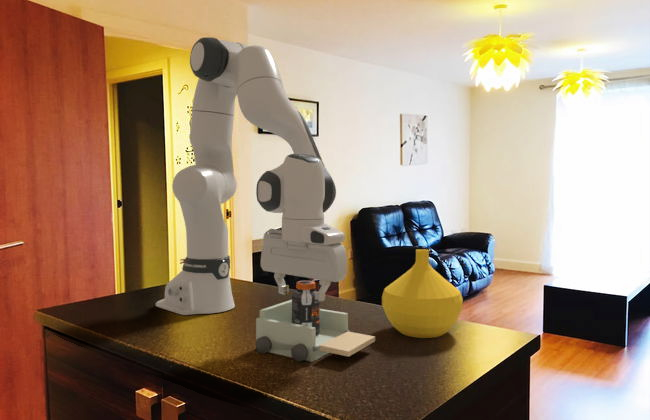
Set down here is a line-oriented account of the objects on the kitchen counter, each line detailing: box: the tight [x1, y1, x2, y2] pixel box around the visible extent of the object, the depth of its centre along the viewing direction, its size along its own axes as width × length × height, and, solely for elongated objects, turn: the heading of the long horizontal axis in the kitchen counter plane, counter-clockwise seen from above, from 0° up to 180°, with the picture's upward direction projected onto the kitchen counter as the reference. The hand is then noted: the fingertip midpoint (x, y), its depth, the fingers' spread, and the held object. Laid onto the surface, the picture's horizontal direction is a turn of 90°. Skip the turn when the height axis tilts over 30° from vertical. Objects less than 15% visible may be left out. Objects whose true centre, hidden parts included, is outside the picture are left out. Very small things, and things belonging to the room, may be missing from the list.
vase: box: [381, 248, 464, 339], centre depth 121 cm, size 18×18×19 cm
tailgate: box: [320, 331, 376, 358], centre depth 106 cm, size 1×11×6 cm
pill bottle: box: [291, 280, 321, 336], centre depth 111 cm, size 6×6×11 cm
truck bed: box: [255, 299, 351, 363], centre depth 111 cm, size 15×17×8 cm
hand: (301, 297), depth 111 cm, fingers open, 8 cm apart
